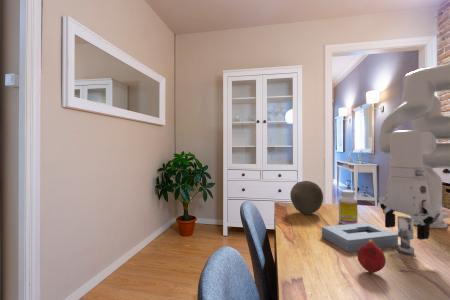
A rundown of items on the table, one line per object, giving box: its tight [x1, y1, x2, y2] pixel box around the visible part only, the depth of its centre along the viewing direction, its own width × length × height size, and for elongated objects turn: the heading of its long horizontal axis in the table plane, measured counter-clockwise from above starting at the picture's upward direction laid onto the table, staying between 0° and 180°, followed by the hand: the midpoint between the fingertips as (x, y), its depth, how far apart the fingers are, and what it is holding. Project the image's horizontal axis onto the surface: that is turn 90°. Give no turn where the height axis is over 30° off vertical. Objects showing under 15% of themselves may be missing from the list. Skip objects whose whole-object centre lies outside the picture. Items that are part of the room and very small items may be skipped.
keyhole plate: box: [321, 222, 399, 253], centre depth 77 cm, size 18×12×3 cm, turn 103°
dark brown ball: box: [289, 180, 324, 215], centre depth 107 cm, size 14×14×15 cm
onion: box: [356, 239, 386, 274], centre depth 57 cm, size 6×6×8 cm
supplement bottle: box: [338, 189, 358, 225], centre depth 94 cm, size 7×7×13 cm
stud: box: [396, 215, 415, 256], centre depth 68 cm, size 4×4×10 cm
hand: (405, 232), depth 68 cm, fingers open, 9 cm apart
